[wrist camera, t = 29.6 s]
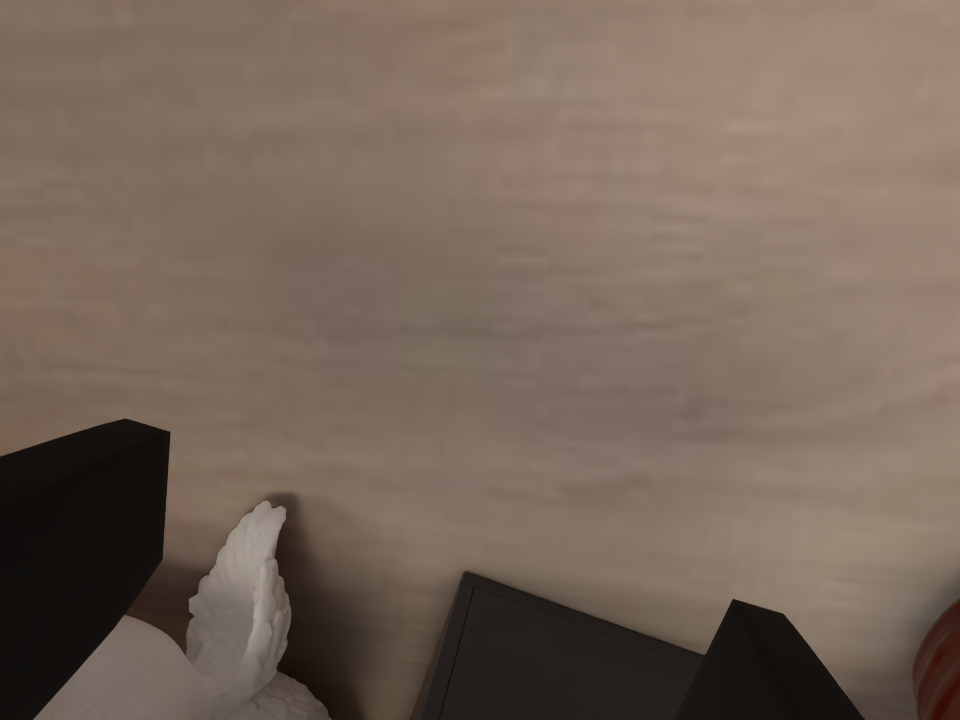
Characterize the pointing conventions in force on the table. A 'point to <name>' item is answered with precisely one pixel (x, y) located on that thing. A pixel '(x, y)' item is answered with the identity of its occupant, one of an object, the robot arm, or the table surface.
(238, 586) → the angel figurine
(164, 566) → the table surface
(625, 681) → the bin
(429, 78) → the table surface
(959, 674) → the mug
